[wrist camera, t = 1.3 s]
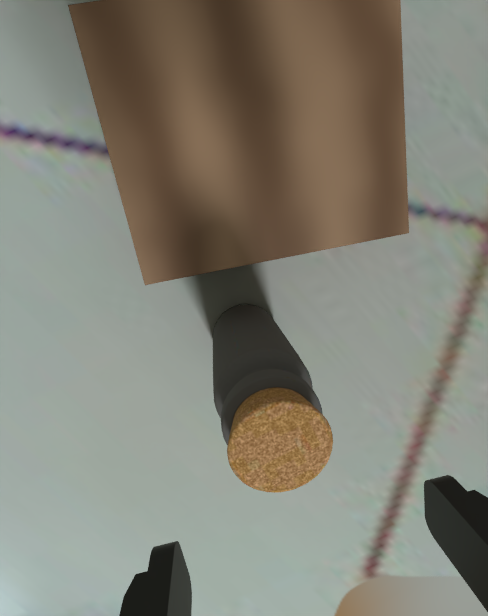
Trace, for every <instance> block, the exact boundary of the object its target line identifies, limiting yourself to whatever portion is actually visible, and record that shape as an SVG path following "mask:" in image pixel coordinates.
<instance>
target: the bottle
mask: <svg viewBox="0 0 488 616" xmlns="http://www.w3.org/2000/svg"><path fill="white" fill-rule="evenodd" d="M213 387H214V402H215V406H216V409H217V412H218V414H219V416H220V418H221V425H222V432H223V437H224V439H225V441H226V443H227V445H228V448H227V454H228V460H229V464H230V466H231V468H232V470H233V472H234V473H235V475H236V476H237V477H238V478H239V479H240V480H241V481H242V482H243V483H245V484H246V485H248V486H250V487H252V488H254V489H257V490H261V491H265V492H284V491H289V490H293V489H296V488H298V487H300V486H302V485H305V484H306V483H308V482H309V481H311V480H312V479H313V478H315V477H316V476H317V475H318V474H319V473H320V472H321V470H322V469H323V468H324V467H325V465H326V464H327V462H328V460H329V457H330V454H331V451H332V445H333V437H332V431H331V428H330V425H329V423H328V421H327V420H326V418H325V417H324V416H323V415H322V408H321V405H320V402H319V399H318V397H317V396H316V394H315V392H314V391H313V389H312V381H311V378H310V375H309V372H308V370H307V368H306V367H305V365H304V364H303V362H302V361H301V359H300V357H299V356H298V354H297V353H296V351H295V350H294V348H293V347H292V346H291V344H290V343H289V341H288V340H287V338H286V337H285V335H284V334H283V332H282V331H281V330H280V328H279V327H278V325H277V324H276V323H275V321H274V320H273V318H272V317H271V316H270V315H269V314H268V313H267V312H266V311H265V310H263V309H261V308H260V307H257V306H254V305H238V306H235V307H232V308H230V309H229V310H227V311H226V312H224V313H223V314H222V315H221V317H220V318H219V319H218V321H217V323H216V325H215V328H214V333H213Z"/></svg>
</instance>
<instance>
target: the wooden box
mask: <svg viewBox="0 0 488 616" xmlns="http://www.w3.org/2000/svg"><path fill="white" fill-rule="evenodd" d="M68 7H69V10H70V14H71V17H72V21H73V25H74V28H75V32H76V36H77V39H78V43H79V47H80V50H81V54H82V57H83V61H84V65H85V68H86V72H87V76H88V79H89V83H90V87H91V90H92V94H93V98H94V101H95V105H96V108H97V112H98V116H99V119H100V123H101V127H102V130H103V134H104V138H105V141H106V145H107V148H108V152H109V156H110V159H111V163H112V167H113V170H114V174H115V178H116V181H117V185H118V189H119V192H120V196H121V199H122V203H123V207H124V210H125V214H126V218H127V221H128V225H129V229H130V232H131V236H132V239H133V243H134V247H135V250H136V254H137V258H138V261H139V265H140V269H141V272H142V276H143V280H144V283H145V285H148V284H153V283H158V282H163V281H168V280H173V279H178V278H183V277H188V276H194V275H199V274H204V273H209V272H214V271H219V270H224V269H229V268H234V267H239V266H244V265H249V264H254V263H259V262H264V261H269V260H274V259H280V258H285V257H290V256H295V255H300V254H305V253H310V252H315V251H320V250H325V249H330V248H335V247H340V246H345V245H350V244H355V243H361V242H366V241H371V240H376V239H381V238H386V237H391V236H396V235H401V234H406V233H409V222H408V195H407V168H406V142H405V115H404V88H403V61H402V34H401V7H400V0H100V1H93V2H86V3H79V4H73V5H68Z"/></svg>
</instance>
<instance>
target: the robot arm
mask: <svg viewBox="0 0 488 616" xmlns="http://www.w3.org/2000/svg"><path fill="white" fill-rule="evenodd" d="M424 500H425V519H426V522H427V525H428V528H429V530H430V532H431V534H432V536H433V537H434V539H435V540H436V542H437V543H438V544H439V546H440V547H441V548H442V550H443V551H444V553H445V554H446V555H447V557H448V558H449V559H450V561H451V562H452V564H453V565H454V566H455V568H456V569H457V570H458V572H459V573H460V575H461V576H462V577H463V579H464V580H465V581H466V582H467V584H468V586H469V587H470V588H471V590H472V591H473V592H474V594H475V595H476V596H477V598H478V599H479V601H480V602H481V603H482V605H483V606H484V608H485V609H486V610H487V612H488V498H487V497H486V496H484V495H482V494H481V493H479V492H477V491H476V490H472V491H468V492H467V491H466V490H465V489H464V488H463V487H462V486H461V485H460V484H459V483H458V482H457V481H456V480H455V479H454V478H453V477H451V476H449V475H446V476H442V477H438V478H434V479H430V480H426V481H425V483H424ZM191 605H192V591H191V581H190V576H189V572H188V569H187V566H186V563H185V560H184V556H183V553H182V550H181V547H180V544H179V542H178V541H176V542H172V543H168V544H164V545H160V546H156V547H153V549H152V551H151V555H150V561H149V567H148V571H147V572H143V573H139V574H136V575H135V577H134V579H133V580H132V582H131V584H130V586H129V588H128V590H127V592H126V594H125V596H124V598H123V603H122V607H121V611H120V616H191Z"/></svg>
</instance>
